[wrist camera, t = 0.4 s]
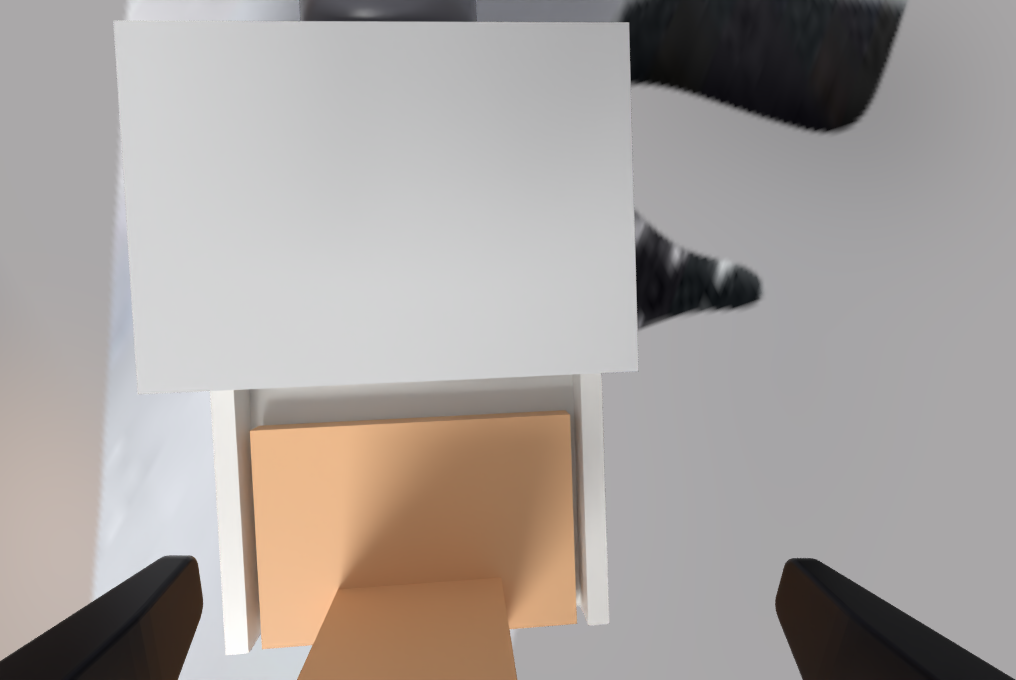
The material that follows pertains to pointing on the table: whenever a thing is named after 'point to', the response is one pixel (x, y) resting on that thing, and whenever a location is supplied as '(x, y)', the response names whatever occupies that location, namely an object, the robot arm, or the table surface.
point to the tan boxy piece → (413, 542)
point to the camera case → (380, 233)
